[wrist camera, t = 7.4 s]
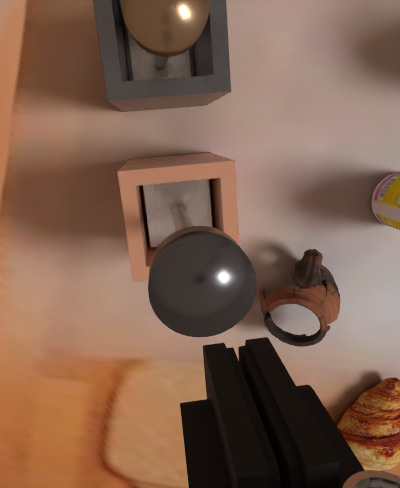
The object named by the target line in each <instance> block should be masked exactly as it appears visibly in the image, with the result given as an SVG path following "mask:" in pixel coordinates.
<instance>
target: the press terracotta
mask: <svg viewBox="0 0 400 488" xmlns="http://www.w3.org/2000/svg"><path fill="white" fill-rule="evenodd" d="M117 172H118V179H119V186H120V193H121V200H122V207H123V214H124V221H125V228H126V235H127V242H128V250H129V257H130V264H131V271H132V278H133V282H139V281H147V280H149V267H150V262H151V259H152V256H153V254H154V252H155V250H156V249H157V247H151V245H150V237H149V229H148V221H147V213H146V205H145V197H144V189H143V185H150V184H160V183H170V182H181V181H191V180H202V179H209V189H210V203H211V216H212V227H213V228H216V229H219V230H221V231H223V232H225V233H226V234H228V235H229V236H230V237H232V238H233V239H234V240H235V241H236V243H237V244H238V245H239V230H238V212H237V194H236V175H235V161H234V160H231V159H228V158H225V157H222V156H219V155H216V154H213V153H210V152H208V153H197V154H186V155H175V156H164V157H153V158H142V159H130V160H128V161H127V162H126V163H125V164H124V165H123V166H122V167H121V168H120V169H119V170H118V171H117Z"/></svg>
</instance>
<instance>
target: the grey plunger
mask: <svg viewBox="0 0 400 488" xmlns="http://www.w3.org/2000/svg"><path fill="white" fill-rule="evenodd" d="M143 189H144V197H145V205H146V213H147V221H148V229H149V237H150V245H151V247H157V249H156V250H155V252H154V254H153V256H152V259H151V262H150V267H149V283H148V292H149V299H150V303H151V306H152V308H153V310H154V312H155V314H156V315H157V317H158V318H159V319H160V320H161V321H162V323H163V324H165V325H166V326H167V327H168V328H170V329H172V330H173V331H175V332H177V333H180V334H183V335H186V336H191V337H208V336H214V335H217V334H220V333H222V332H225V331H227V330H228V329H230V328H232V327H233V326H235V325H236V324H237V323H238V322H239V321H240V320H241V319H242V318H243V317H244V316H245V315H246V313H247V312H248V310H249V309H250V307H251V305H252V303H253V300H254V297H255V292H256V276H255V272H254V268H253V266H252V264H251V262H250V260H249V259H248V257H247V256H246V254H245V253H244V252H243V250H242V249H241V248H240V246H239V245H238V244H237V243H236V241H235V240H234V239H233V238H232V237H230V236H229V235H228V234H226V233H225V232H223V231H221V230H219V229H216V228H213V227H212V216H211V203H210V189H209V179H202V180H191V181H181V182H170V183H160V184H150V185H143Z"/></svg>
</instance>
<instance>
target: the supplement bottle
mask: <svg viewBox="0 0 400 488" xmlns="http://www.w3.org/2000/svg"><path fill="white" fill-rule="evenodd" d="M371 205H372V210H373V213H374V215H375V217H376V218H377V219H378V220H379V221H380V222H382V223H383V224H386V225H388V226H390V227H393V228H396V229H399V230H400V172H397V173H394V174H391V175H389V176H387V177H385V178H384V179H383V180H381V181H380V183H379V184H378V185H377V186H376V188H375V190H374V192H373V195H372V200H371Z"/></svg>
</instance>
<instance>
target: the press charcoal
mask: <svg viewBox="0 0 400 488" xmlns="http://www.w3.org/2000/svg"><path fill="white" fill-rule="evenodd" d="M93 2H94V10H95V17H96V24H97V31H98V38H99V45H100V52H101V59H102V66H103V73H104V80H105V87H106V94H107V101H108V102H109V103H111V104H112V105H114V106H115V107H117V108H118V109H119V110H121V111H122V112H128V111H140V110H153V109H166V108H178V107H191V106H203V105H208V104H209V103H211V102H213V101H215V100H217V99H218V98H220V97H222V96H224V95H226V94H228V93H229V92H231V83H230V65H229V47H228V28H227V10H226V0H210V9H209V15H208V19H207V22H206V24H205V26H204V29H203V31H202V33H201V35H200V37H199V39H198V40H197V42H196V43H195V44H194V45H193V46H192V47H191V48H190V49H189V59H190V71H191V77H182V78H168V79H154V80H141V81H134V80H133V71H132V63H131V55H130V47H129V38H128V30H127V27H126V25H125V21H124V18H123V14H122V10H121V4H120V0H93Z"/></svg>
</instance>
